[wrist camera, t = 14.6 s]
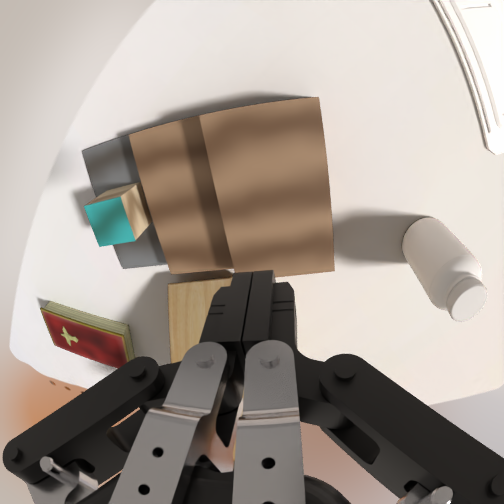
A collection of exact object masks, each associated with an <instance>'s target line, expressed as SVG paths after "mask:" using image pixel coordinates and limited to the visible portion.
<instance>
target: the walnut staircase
mask: <svg viewBox="0 0 504 504" xmlns="http://www.w3.org/2000/svg"><path fill="white" fill-rule="evenodd" d="M82 152H83V155H84V159H85V163H86V166H87V169H88V173H89V176H90V179H91V183H92V186H93V189H94V192H95V195H96V197H98V196H99V195H101V194H102V193H104V192H105V191H107V190H111V189H115V188H119V187H122V186H126V185H130V184H134V183H138V182H140V183H141V186H142V190H143V193H144V196H145V200H146V203H147V206H148V209H149V212H150V216H151V219H152V222H151V224H150V225H149V226H148V227H147V228H146V229H145V230H144V231H143V233H142V234H141V235H140V236H139V237H138V238H137V239H136V241H133V242H126V243H120V244H114V248H115V250H116V253H117V255H118V258H119V260H120V263H121V265H122V267H123V269H127V268H137V267H146V266H156V265H166V264H168V267H169V270H170V272H171V274H181V273H192V272H203V271H213V270H223V269H234V271H235V273H238V272H251V271H253V272H254V271H263V270H274V274H275V277H284V276H293V275H303V274H312V273H322V272H331V271H335V268H334V244H333V226H332V211H331V198H330V186H329V175H328V165H327V156H326V147H325V139H324V131H323V123H322V116H321V109H320V102H319V97H308V98H299V99H290V100H282V101H274V102H267V103H260V104H254V105H248V106H242V107H237V108H231V109H226V110H221V111H216V112H211V113H207V114H202V115H198V116H194V117H189V118H185V119H181V120H177V121H173V122H170V123H166V124H162V125H159V126H155V127H152V128H148V129H145V130H142V131H138V132H135V133H132V134H129V135H126V136H123V137H120V138H117V139H114V140H111V141H108V142H105V143H102V144H99V145H97V146H94V147H91V148H89V149H86V150H83V151H82Z"/></svg>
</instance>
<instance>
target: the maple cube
mask: <svg viewBox="0 0 504 504" xmlns="http://www.w3.org/2000/svg"><path fill="white" fill-rule="evenodd" d="M84 208H85V211H86V213H87V216H88V219H89V221H90V224H91V227H92V229H93V232H94V234H95V237H96V239H97V242H98V244H99V247H101V246H108V245H114V244H120V243H126V242H133V241H136V239H137V238H138V237H139V236H140V235H141V234H142V233H143V231H144V230H145V229H146V228H147V227H148V226H149V225H150V224H151V222H152V219H151V216H150V212H149V209H148V206H147V203H146V200H145V196H144V193H143V190H142V186H141V183H140V182H138V183H134V184H130V185H126V186H122V187H119V188H115V189H111V190H107V191H105V192H104V193H102V194H101V195H99V196H98V197H96V198H95V199H94V200H92V201H91V202H89V203H88V204H87V205H85V206H84Z"/></svg>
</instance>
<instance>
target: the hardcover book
mask: <svg viewBox="0 0 504 504" xmlns="http://www.w3.org/2000/svg"><path fill="white" fill-rule="evenodd" d="M40 310H41V312H42V315H43V318H44V320H45V323H46V326H47V328H48V331H49V333H50V336H51V338H52V340H53V343H54V345H55V346H57V347H60V348H62V349H65V350H67V351H70V352H73V353H75V354H78V355H80V356H83V357H86V358H89V359H91V360H94V361H97V362H100V363H103V364H106V365H109V366H112V367H115V368H120V367H121V366H123V365H124V364H126V363H127V362H129V361H130V360H132V359H134V358H135V356H134V351H133V346H132V341H131V335H130V330H129V325H128V324H124V323H120V322H117V321H113V320H109V319H106V318H103V317H99V316H96V315H92V314H89V313H86V312H83V311H79V310H76V309H73V308H70V307H67V306H64V305H61V304H58V303H55V302H52V301H49V303H48V304H47V305H46V306H45V307H44V308H40Z"/></svg>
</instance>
